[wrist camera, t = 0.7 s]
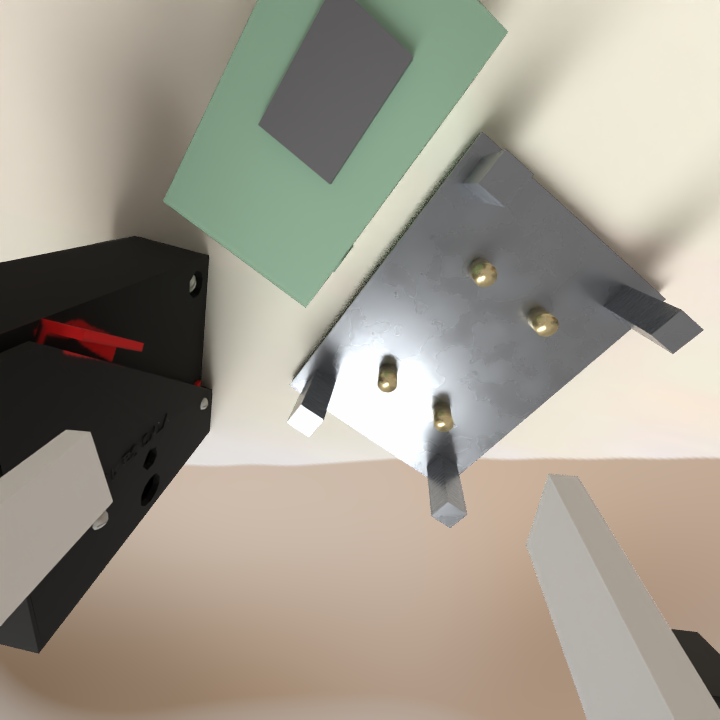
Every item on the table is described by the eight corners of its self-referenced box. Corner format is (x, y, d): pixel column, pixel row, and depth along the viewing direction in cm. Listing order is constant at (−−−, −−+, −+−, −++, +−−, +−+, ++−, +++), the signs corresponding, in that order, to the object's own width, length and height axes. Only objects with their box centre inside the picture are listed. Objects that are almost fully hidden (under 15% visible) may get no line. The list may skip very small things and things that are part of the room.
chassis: (292, 380, 35) (268, 423, 28) (479, 133, 25) (506, 117, 19) (442, 480, 38) (451, 540, 32) (657, 295, 29) (730, 327, 22)
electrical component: (108, 228, 30) (-316, 293, 12) (232, 261, 31) (-10, 372, 13) (117, 407, 38) (-139, 609, 20) (216, 432, 38) (51, 656, 20)
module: (236, 195, 29) (154, 200, 19) (356, -21, 23) (325, -170, 13) (334, 271, 30) (304, 312, 21) (469, 89, 24) (514, 28, 15)
